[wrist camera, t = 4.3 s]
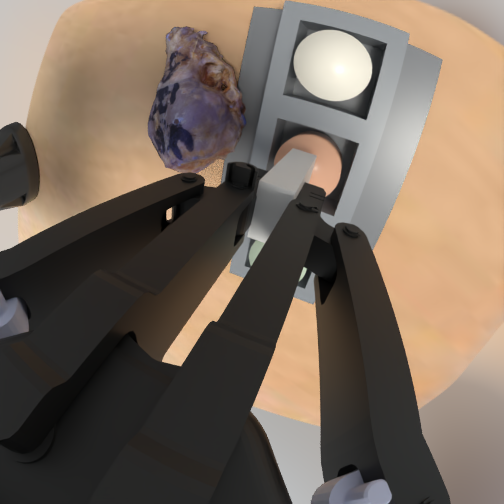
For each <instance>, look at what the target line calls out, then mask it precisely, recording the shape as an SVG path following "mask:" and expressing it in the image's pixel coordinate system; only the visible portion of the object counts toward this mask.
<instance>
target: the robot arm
mask: <svg viewBox="0 0 504 504" xmlns="http://www.w3.org/2000/svg"><path fill="white" fill-rule="evenodd" d="M316 157H317V155H314V154H310V153H307V152H304V151H301V150H298V149H294V148H293V149H292V150H291V151H290V152H288V153H287V154H286V155H285V156H284V157H283V158H282V159H281V160H280V161H279V162H278V163H277V164H276V165H275V166H274V167H273V168H272V169H271V170H270V171H266V170H263V169H259V168H257V167H256V166H254V165H252V164H249V163H245V162H229V163H228V164H227V170H226V176H225V181H224V182H223V183H222V184H220V185H219V186H218V187H217V188H215V187H207V186H204V184H205V179H204V177H202V176H201V175H198V174H196V173H192V172H188V173H181V174H177V175H174V176H171V177H169V178H166V179H163V180H160V181H157V182H155V183H152V184H149V185H147V186H144V187H141V188H139V189H136V190H134V191H131V192H128V193H126V194H123V195H121V196H118V197H116V198H114V199H111V200H109V201H106V202H104V203H102V204H99V205H97V206H95V207H93V208H90V209H88V210H86V211H84V212H81V213H79V214H77V215H75V216H73V217H71V218H68V219H66V220H64V221H62V222H60V223H58V224H56V225H54V226H52V227H50V228H48V229H46V230H44V231H42V232H40V233H38V234H36V235H34V236H32V237H31V238H29V239H27V240H25V241H23V242H21V243H19V244H18V245H16V246H14V247H12V248H10V249H7V250H4V251H1V252H0V504H292V501H291V499H290V496H289V493H288V491H287V488H286V486H285V483H284V480H283V478H282V475H281V472H280V470H279V467H278V464H277V462H276V459H275V456H274V453H273V450H272V448H271V445H270V442H269V439H268V437H267V435H266V433H265V431H264V429H263V427H262V425H261V424H260V423H259V422H258V420H257V418H256V417H255V416H254V415H253V414H252V413H251V411H250V410H251V408H252V406H253V403H254V401H255V398H256V396H257V394H258V391H259V389H260V386H261V384H262V381H263V379H264V376H265V374H266V371H267V369H268V366H269V364H270V361H271V359H272V356H273V353H274V351H275V348H276V343H277V340H278V337H279V335H280V332H281V329H282V327H283V324H284V321H285V319H286V316H287V313H288V310H289V308H290V305H291V302H292V299H293V296H294V294H295V291H296V288H297V285H298V282H299V279H300V276H301V273H302V270H303V267H305V268H306V269H308V270H310V271H311V272H313V273H314V274H315V276H314V291H315V303H316V317H317V332H318V350H319V372H320V411H321V465H322V471H323V478H324V482H325V483H324V484H322V485H321V486H320V487H319V488H318V489H317V490H316V491H315V493H314V495H313V496H312V500H311V504H450V498H449V495H448V492H447V489H446V487H445V485H444V482H443V480H442V477H441V475H440V472H439V470H438V468H437V466H436V463H435V461H434V459H433V457H432V454H431V452H430V450H429V447H428V445H427V443H426V441H425V439H424V437H423V434H422V429H421V423H420V417H419V411H418V406H417V401H416V396H415V391H414V386H413V382H412V377H411V373H410V369H409V365H408V361H407V357H406V353H405V349H404V345H403V342H402V338H401V334H400V331H399V327H398V324H397V321H396V317H395V314H394V311H393V308H392V305H391V302H390V299H389V295H388V293H387V290H386V287H385V284H384V281H383V278H382V275H381V272H380V270H379V267H378V264H377V262H376V259H375V256H374V254H373V251H372V249H371V246H370V243H369V241H368V238H367V236H366V234H365V233H364V232H363V231H362V230H361V229H360V228H359V227H357V226H356V225H354V224H349V223H344V222H341V223H337V224H336V225H335V227H332V226H330V225H329V224H327V223H326V222H325V221H324V220H323V219H322V218H321V216H320V215H321V210H322V206H323V203H324V199H325V196H326V192H325V190H324V189H323V188H321V187H318V186H315V185H312V184H309V181H310V178H311V174H312V171H313V167H314V164H315V161H316ZM38 189H39V172H38V164H37V159H36V154H35V151H34V147H33V144H32V141H31V139H30V137H29V134H28V133H27V131H26V129H25V128H24V127H23V126H22V125H21V124H20V123H18V122H14V123H11V124H9V125H6V126H5V127H3V128H2V129H1V130H0V210H4V209H9V208H14V207H19V206H23V205H26V204H27V203H29V202H31V201H33V200H34V199H35V198H36V196H37V194H38ZM171 207H172V219H170V220H167V219H166V210H168V209H169V208H171ZM248 228H249V231H248V236H247V237H249V238H252V239H255V240H257V241H260V242H263V243H265V244H264V246H263V247H262V249H261V251H260V252H259V254H258V256H257V257H256V259H255V261H254V262H253V264H252V266H251V267H250V269H249V271H248V272H247V274H246V276H245V277H244V279H243V281H242V282H241V284H240V286H239V287H238V289H237V291H236V292H235V294H234V295H233V297H232V299H231V300H230V302H229V304H228V305H227V307H226V309H225V310H224V312H223V314H222V315H221V317H220V318H219V320H218V321H217V322H215V321H212V322H210V323H209V324H208V326H207V327H206V328H205V330H204V331H203V333H202V334H201V336H200V338H199V339H198V341H197V342H196V344H195V345H194V347H193V349H192V350H191V352H190V353H189V355H188V356H187V358H186V360H185V361H184V363H183V364H182V366H176V365H172V364H168V363H164V362H162V359H163V357H164V355H165V353H166V352H167V350H168V349H169V347H170V346H171V344H172V343H173V341H174V340H175V338H176V337H177V336H178V334H179V333H180V331H181V330H182V328H183V327H184V325H185V324H186V323H187V321H188V320H189V318H190V317H191V315H192V314H193V313H194V311H195V310H196V308H197V307H198V305H199V304H200V303H201V301H202V300H203V298H204V297H205V295H206V294H207V293H208V291H209V290H210V288H211V287H212V285H213V284H214V283H215V281H216V280H217V278H218V277H219V276H220V274H221V273H222V271H223V270H224V268H225V267H226V266H227V264H228V263H229V261H230V260H231V259H232V257H233V256H234V254H235V253H236V252H237V250H238V249H239V247H240V246H241V245H242V243H243V241H244V237H245V233H246V231H247V229H248Z"/></svg>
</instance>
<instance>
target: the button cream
mask: <svg viewBox="0 0 504 504" xmlns="http://www.w3.org/2000/svg"><path fill="white" fill-rule="evenodd" d="M294 70H295V73H296V76H297V78H298V80H299V81H300V83H301V84H302V85H303V86H304V88H305V89H306V90H308V91H309V92H310V93H312V94H313V95H315V96H317V97H319V98H322V99H325V100H329V101H344V100H348V99H351V98H353V97H355V96H357V95H358V94H360V93H361V92H362V91H363V90H364V89H365V88H366V87H367V85H368V83H369V81H370V79H371V75H372V62H371V58H370V56H369V53H368V52H367V50H366V48H365V47H364V46H363V45H362V44H361V43H360V42H359V41H358V40H357V39H356V38H354V37H353V36H351V35H349V34H347V33H344V32H341V31H337V30H322V31H318V32H315V33H312V34H310V35H309V36H307V37H306V38H305V39H303V41H302V42H301V43H300V44H299V46H298V47H297V49H296V52H295V55H294Z"/></svg>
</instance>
